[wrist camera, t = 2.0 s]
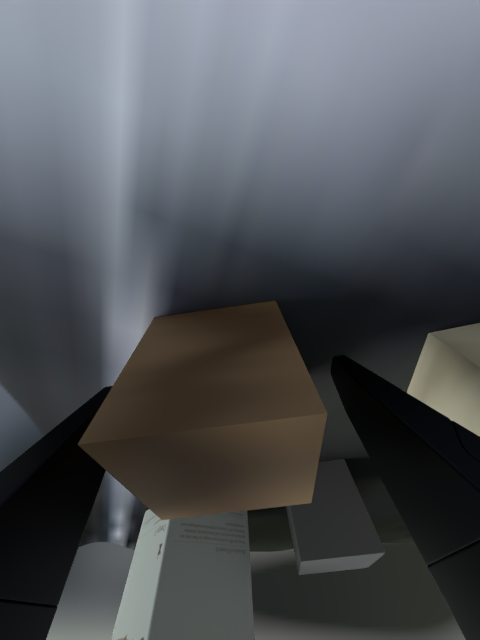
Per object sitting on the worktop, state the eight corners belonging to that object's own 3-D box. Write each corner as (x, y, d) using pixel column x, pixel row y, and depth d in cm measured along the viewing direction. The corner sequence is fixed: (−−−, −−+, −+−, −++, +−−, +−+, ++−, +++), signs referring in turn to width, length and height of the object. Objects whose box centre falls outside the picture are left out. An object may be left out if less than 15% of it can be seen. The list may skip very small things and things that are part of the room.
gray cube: (343, 457, 16) (385, 552, 12) (335, 482, 19) (367, 567, 14) (281, 465, 16) (300, 561, 12) (282, 489, 19) (298, 574, 14)
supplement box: (176, 480, 16) (77, 1026, 6) (248, 495, 19) (276, 891, 8) (142, 509, 19) (37, 900, 9) (209, 519, 22) (191, 829, 11)
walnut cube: (275, 299, 8) (327, 413, 4) (278, 382, 11) (311, 503, 6) (155, 316, 8) (77, 444, 4) (187, 393, 11) (161, 520, 7)
